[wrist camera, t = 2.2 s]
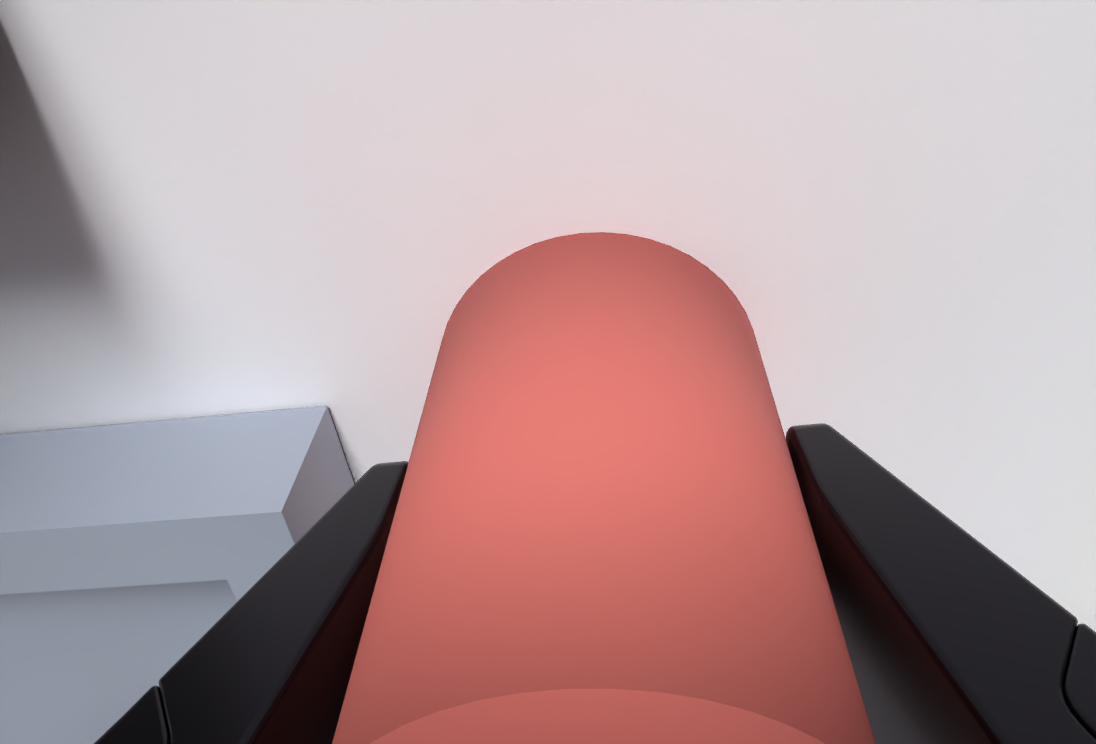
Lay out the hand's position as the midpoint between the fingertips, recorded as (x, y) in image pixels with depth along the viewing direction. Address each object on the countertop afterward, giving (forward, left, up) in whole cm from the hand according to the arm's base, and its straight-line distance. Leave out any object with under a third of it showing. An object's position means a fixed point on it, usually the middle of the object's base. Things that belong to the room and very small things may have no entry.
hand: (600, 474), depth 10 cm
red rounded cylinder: (0, 0, -2) cm, 2 cm away
